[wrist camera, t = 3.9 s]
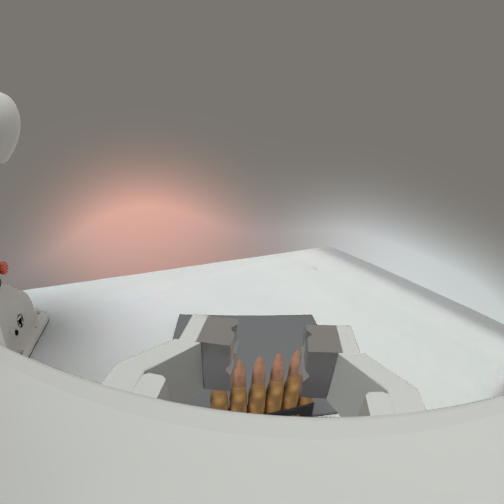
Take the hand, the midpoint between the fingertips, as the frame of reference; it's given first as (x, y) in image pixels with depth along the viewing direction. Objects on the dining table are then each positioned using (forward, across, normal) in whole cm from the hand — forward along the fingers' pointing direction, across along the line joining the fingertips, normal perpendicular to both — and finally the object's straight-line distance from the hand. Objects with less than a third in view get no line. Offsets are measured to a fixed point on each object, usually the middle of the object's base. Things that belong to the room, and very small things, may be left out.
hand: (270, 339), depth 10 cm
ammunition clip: (+12, 0, +22) cm, 25 cm away
